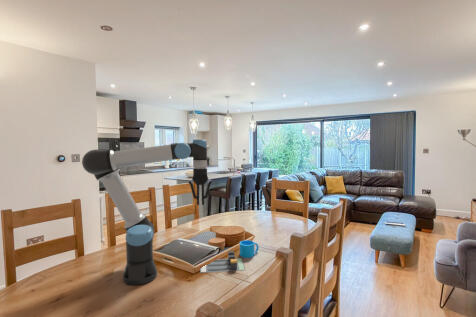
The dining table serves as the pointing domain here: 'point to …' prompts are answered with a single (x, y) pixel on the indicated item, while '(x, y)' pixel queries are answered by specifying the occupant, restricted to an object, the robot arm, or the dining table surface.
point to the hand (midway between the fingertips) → (200, 210)
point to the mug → (247, 248)
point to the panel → (222, 266)
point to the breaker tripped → (233, 264)
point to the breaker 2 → (231, 257)
